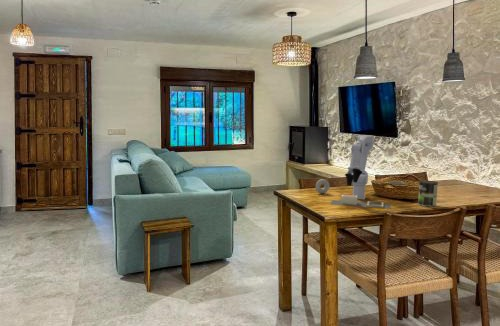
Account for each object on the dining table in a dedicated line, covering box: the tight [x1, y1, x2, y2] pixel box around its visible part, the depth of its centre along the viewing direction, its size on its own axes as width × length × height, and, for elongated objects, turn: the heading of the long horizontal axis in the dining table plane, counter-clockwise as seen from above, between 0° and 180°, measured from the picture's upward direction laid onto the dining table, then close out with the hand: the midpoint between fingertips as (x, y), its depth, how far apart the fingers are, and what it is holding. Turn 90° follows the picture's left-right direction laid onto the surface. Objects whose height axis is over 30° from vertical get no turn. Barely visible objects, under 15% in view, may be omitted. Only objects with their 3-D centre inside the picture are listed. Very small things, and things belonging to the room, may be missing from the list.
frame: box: [366, 200, 384, 209], centre depth 248 cm, size 13×9×1 cm
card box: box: [340, 194, 358, 205], centre depth 252 cm, size 9×5×5 cm, turn 73°
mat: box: [330, 199, 392, 210], centre depth 251 cm, size 13×34×1 cm, turn 73°
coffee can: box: [417, 179, 439, 207], centre depth 252 cm, size 10×10×14 cm
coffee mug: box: [388, 180, 406, 186], centre depth 274 cm, size 13×10×10 cm
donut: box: [315, 178, 330, 195], centre depth 284 cm, size 10×3×10 cm, turn 107°
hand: (351, 183), depth 249 cm, fingers open, 7 cm apart
